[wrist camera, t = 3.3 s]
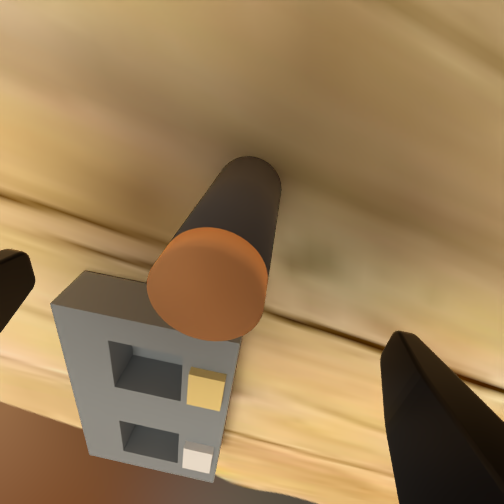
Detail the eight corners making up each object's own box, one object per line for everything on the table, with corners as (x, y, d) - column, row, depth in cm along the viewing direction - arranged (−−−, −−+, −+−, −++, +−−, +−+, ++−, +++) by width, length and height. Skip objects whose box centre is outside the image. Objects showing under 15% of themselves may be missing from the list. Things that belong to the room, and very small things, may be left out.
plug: (287, 163, 14) (274, 261, 7) (274, 223, 15) (254, 350, 9) (220, 150, 14) (144, 235, 7) (215, 211, 15) (148, 328, 9)
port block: (248, 304, 18) (238, 351, 15) (221, 443, 27) (211, 490, 24) (84, 270, 19) (43, 309, 16) (109, 418, 27) (85, 461, 24)
